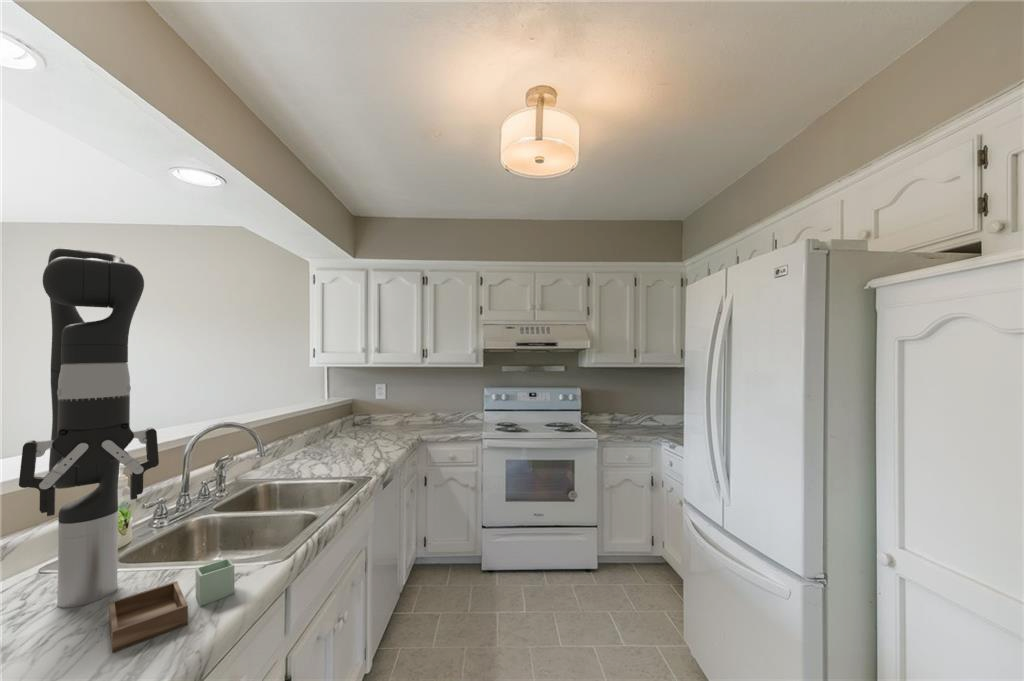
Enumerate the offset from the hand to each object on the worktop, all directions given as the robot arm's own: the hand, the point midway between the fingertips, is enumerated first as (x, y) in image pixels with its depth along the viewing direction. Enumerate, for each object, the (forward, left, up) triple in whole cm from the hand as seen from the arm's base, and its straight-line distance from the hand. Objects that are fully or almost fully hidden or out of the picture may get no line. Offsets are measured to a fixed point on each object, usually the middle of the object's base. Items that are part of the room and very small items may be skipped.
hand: (94, 506), depth 61 cm
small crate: (-23, +19, -29) cm, 42 cm away
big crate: (-22, +8, -29) cm, 37 cm away
